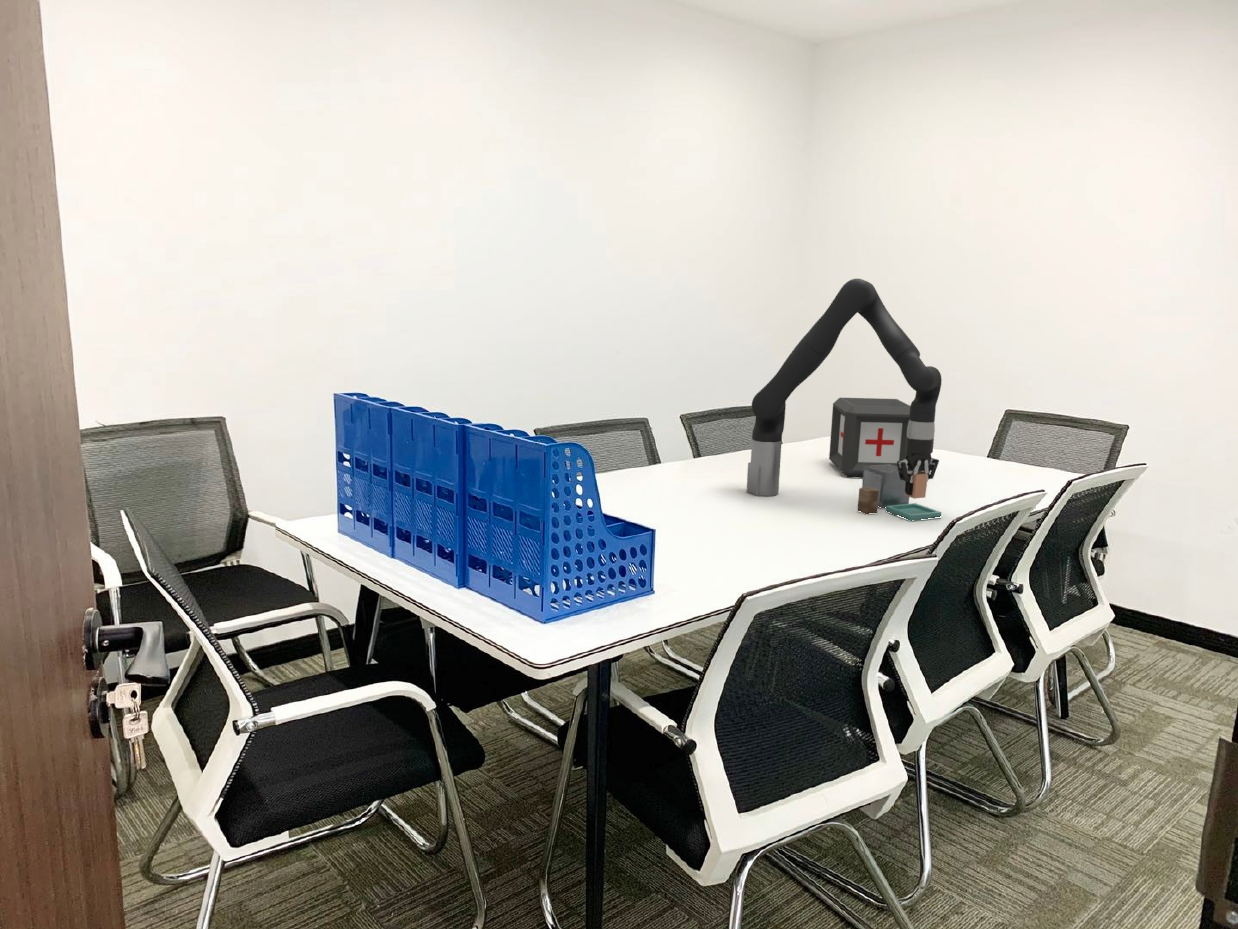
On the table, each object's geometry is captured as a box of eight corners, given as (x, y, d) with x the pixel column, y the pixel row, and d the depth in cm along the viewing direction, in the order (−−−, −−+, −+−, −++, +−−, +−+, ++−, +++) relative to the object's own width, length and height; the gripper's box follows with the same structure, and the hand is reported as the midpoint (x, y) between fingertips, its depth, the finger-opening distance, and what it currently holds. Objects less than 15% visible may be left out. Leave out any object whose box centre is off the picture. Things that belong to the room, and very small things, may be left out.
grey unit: (880, 508, 272) (883, 473, 270) (859, 500, 281) (862, 466, 279) (910, 505, 276) (913, 470, 274) (888, 498, 285) (891, 464, 283)
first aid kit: (915, 480, 311) (922, 408, 306) (842, 478, 311) (847, 406, 306) (895, 465, 335) (901, 398, 330) (827, 463, 336) (832, 396, 330)
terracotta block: (914, 498, 262) (916, 474, 260) (905, 495, 265) (907, 472, 264) (925, 497, 263) (927, 473, 262) (915, 494, 267) (917, 471, 265)
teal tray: (910, 521, 258) (911, 515, 258) (885, 511, 268) (886, 506, 268) (940, 518, 263) (941, 512, 262) (914, 508, 273) (915, 503, 272)
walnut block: (865, 514, 265) (867, 491, 264) (857, 511, 269) (859, 488, 267) (877, 513, 267) (879, 490, 265) (868, 510, 270) (870, 487, 269)
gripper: (930, 432, 267) (925, 489, 270) (891, 435, 261) (887, 493, 265) (948, 437, 260) (943, 495, 264) (909, 439, 255) (904, 499, 258)
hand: (915, 493), depth 264 cm, fingers closed on terracotta block, 4 cm apart
